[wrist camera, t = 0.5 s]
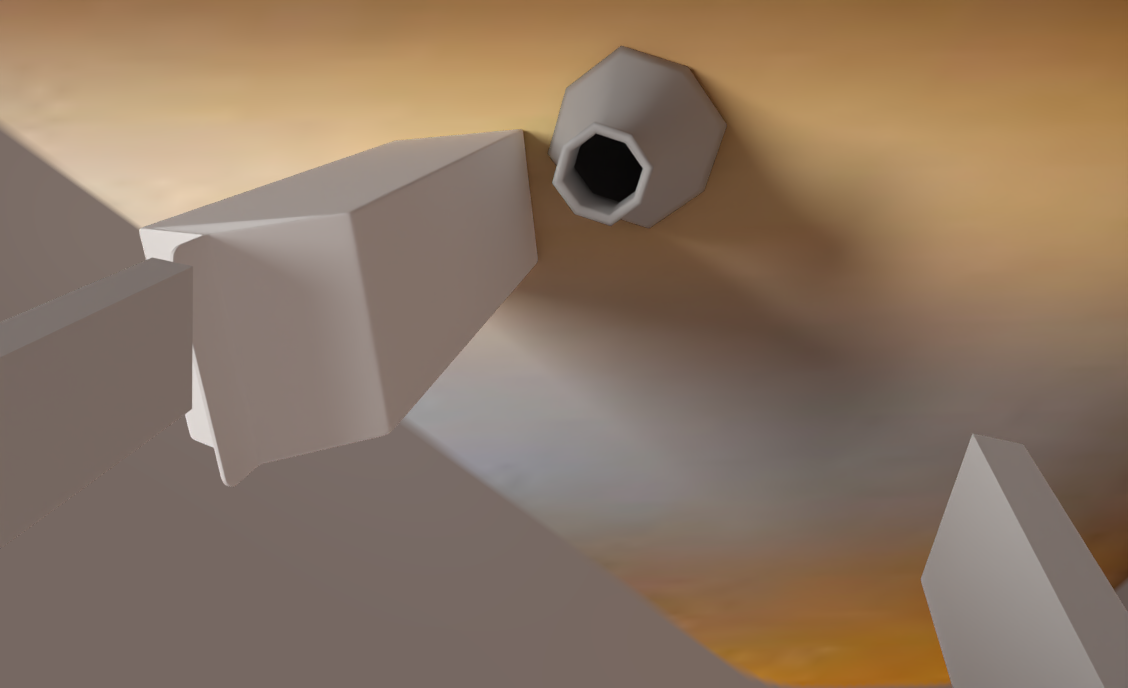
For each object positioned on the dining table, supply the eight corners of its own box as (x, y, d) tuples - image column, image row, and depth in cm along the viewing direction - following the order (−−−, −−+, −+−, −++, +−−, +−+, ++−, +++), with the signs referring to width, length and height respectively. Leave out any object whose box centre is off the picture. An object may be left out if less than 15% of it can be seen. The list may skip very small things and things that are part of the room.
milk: (524, 127, 40) (298, 235, 20) (539, 264, 42) (349, 492, 21) (391, 140, 41) (48, 253, 21) (412, 272, 43) (116, 495, 23)
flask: (758, 119, 38) (762, 150, 29) (653, 255, 41) (626, 324, 32) (617, 13, 38) (575, 10, 29) (520, 157, 41) (453, 198, 31)
